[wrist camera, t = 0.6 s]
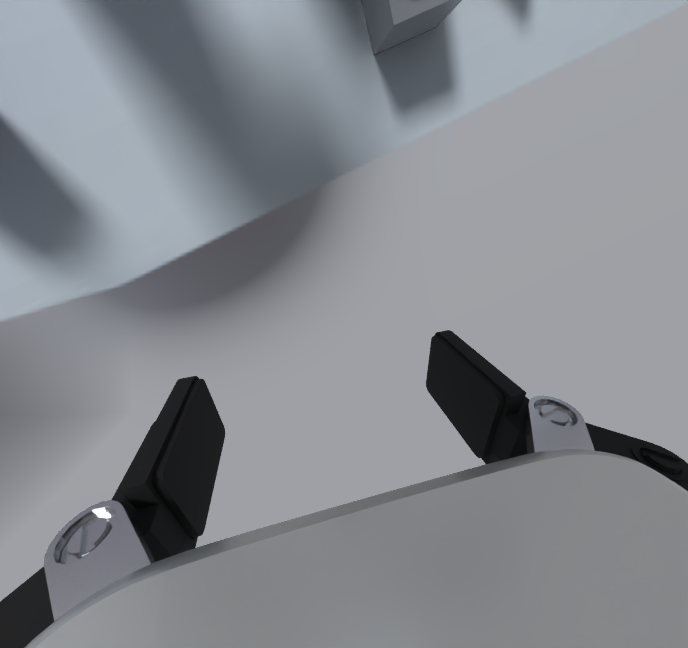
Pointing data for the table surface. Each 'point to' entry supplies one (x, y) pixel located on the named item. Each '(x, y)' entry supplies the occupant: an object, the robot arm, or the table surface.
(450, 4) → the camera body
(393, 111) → the table surface
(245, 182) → the table surface
